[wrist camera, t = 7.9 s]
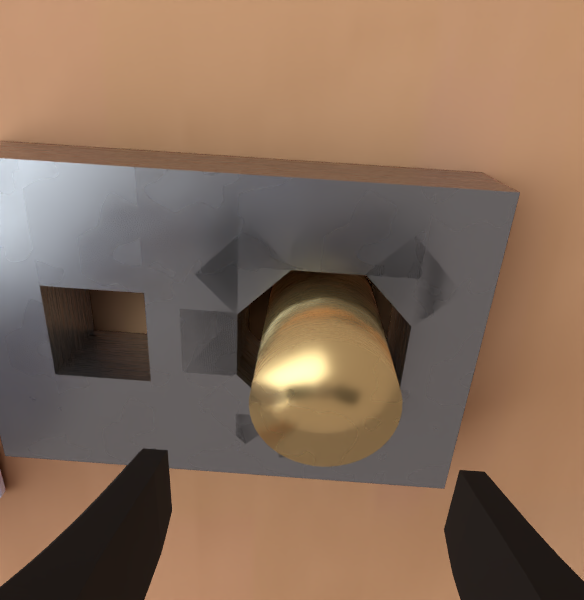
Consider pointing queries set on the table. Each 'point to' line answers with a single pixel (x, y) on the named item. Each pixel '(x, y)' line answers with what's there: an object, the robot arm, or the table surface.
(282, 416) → the brass fitting
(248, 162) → the grey flat block
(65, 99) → the table surface
